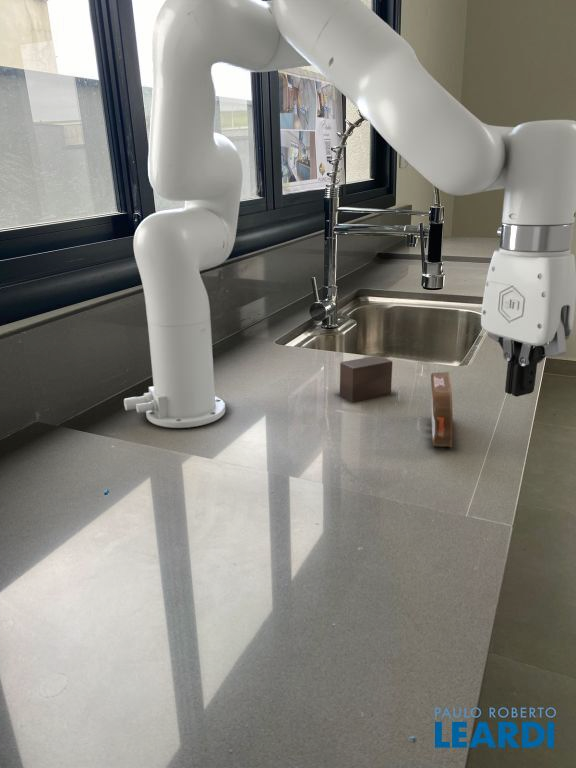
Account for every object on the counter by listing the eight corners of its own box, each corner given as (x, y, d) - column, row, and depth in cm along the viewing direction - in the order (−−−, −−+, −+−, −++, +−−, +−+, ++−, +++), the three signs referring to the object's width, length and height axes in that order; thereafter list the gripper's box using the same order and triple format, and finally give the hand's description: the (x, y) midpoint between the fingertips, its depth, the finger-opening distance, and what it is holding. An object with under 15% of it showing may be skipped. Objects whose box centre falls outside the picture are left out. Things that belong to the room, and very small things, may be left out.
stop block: (352, 402, 101) (353, 368, 99) (339, 395, 105) (340, 362, 103) (391, 394, 105) (392, 361, 103) (377, 387, 108) (378, 355, 106)
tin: (452, 457, 81) (457, 399, 79) (428, 456, 82) (432, 398, 79) (447, 415, 95) (451, 364, 93) (427, 414, 96) (430, 363, 93)
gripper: (463, 237, 73) (453, 381, 79) (569, 248, 60) (547, 419, 66) (508, 233, 76) (496, 371, 82) (618, 243, 63) (593, 406, 69)
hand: (519, 392), depth 74 cm, fingers closed
